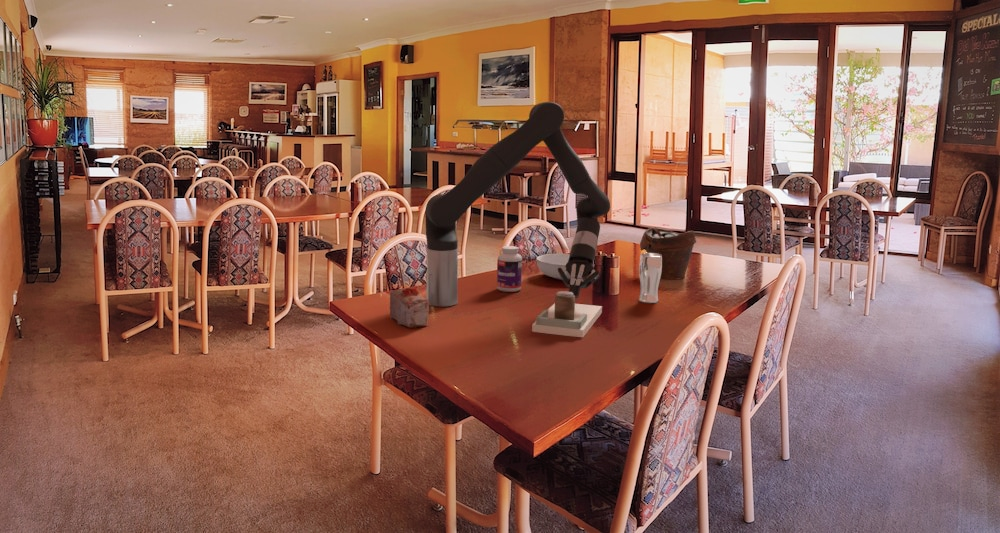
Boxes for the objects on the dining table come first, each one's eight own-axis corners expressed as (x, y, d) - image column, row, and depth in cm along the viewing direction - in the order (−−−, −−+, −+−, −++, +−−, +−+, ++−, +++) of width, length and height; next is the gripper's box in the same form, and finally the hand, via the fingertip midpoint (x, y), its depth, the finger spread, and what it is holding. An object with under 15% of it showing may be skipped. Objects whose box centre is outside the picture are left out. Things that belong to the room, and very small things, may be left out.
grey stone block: (433, 327, 200) (433, 292, 198) (407, 331, 195) (406, 295, 193) (410, 315, 211) (410, 282, 209) (385, 319, 206) (384, 285, 204)
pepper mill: (556, 325, 196) (557, 295, 194) (552, 319, 201) (553, 291, 199) (576, 324, 197) (577, 295, 195) (571, 319, 202) (572, 290, 200)
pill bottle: (493, 291, 240) (493, 248, 237) (502, 286, 247) (503, 244, 244) (516, 293, 237) (517, 250, 234) (524, 288, 244) (525, 246, 241)
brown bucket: (637, 268, 278) (640, 222, 274) (690, 271, 275) (694, 224, 271) (639, 280, 260) (642, 230, 256) (696, 283, 258) (700, 233, 254)
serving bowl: (578, 287, 248) (579, 267, 247) (525, 278, 259) (525, 260, 257) (603, 276, 265) (604, 257, 264) (552, 268, 276) (553, 251, 275)
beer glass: (661, 299, 233) (664, 253, 229) (656, 304, 226) (659, 257, 223) (640, 297, 235) (643, 251, 232) (634, 302, 229) (637, 255, 226)
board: (556, 308, 221) (556, 295, 220) (601, 312, 216) (602, 299, 215) (532, 331, 197) (532, 317, 196) (582, 337, 192) (583, 323, 191)
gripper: (560, 240, 219) (548, 289, 210) (604, 243, 214) (593, 293, 206) (564, 254, 225) (552, 302, 216) (606, 258, 220) (596, 307, 212)
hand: (572, 298), depth 211 cm, fingers closed
